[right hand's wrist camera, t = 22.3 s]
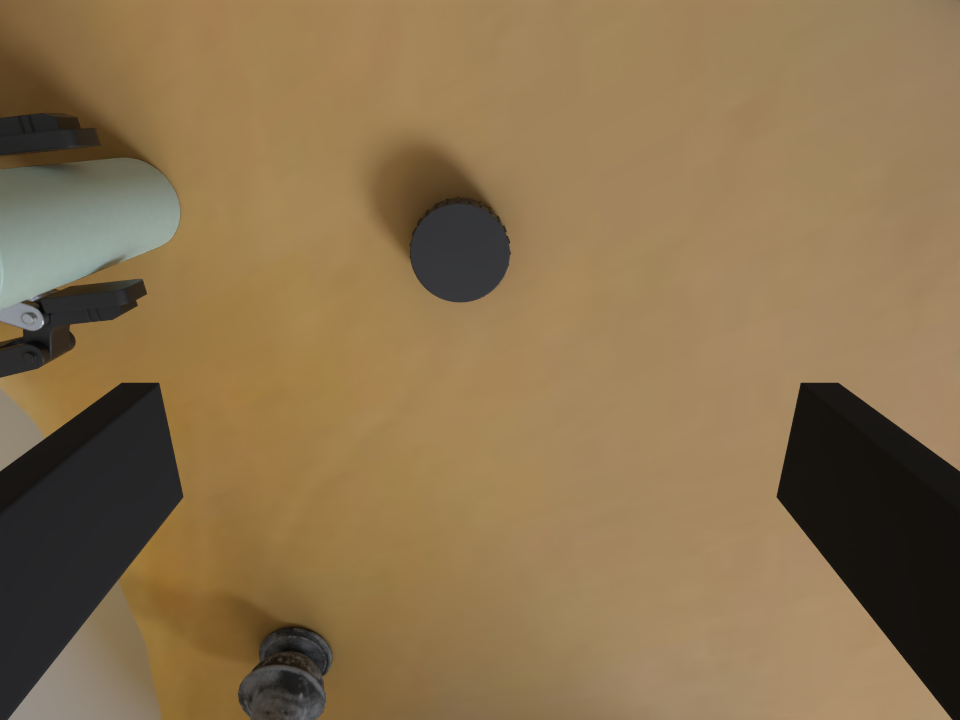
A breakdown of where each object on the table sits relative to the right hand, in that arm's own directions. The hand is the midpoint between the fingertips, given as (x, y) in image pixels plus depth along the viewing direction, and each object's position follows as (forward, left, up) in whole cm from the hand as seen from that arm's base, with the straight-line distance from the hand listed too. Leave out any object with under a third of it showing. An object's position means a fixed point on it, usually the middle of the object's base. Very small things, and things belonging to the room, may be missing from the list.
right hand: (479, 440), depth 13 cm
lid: (+1, 0, -21) cm, 21 cm away
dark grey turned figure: (+32, +8, -23) cm, 40 cm away
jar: (+9, -16, -23) cm, 29 cm away
